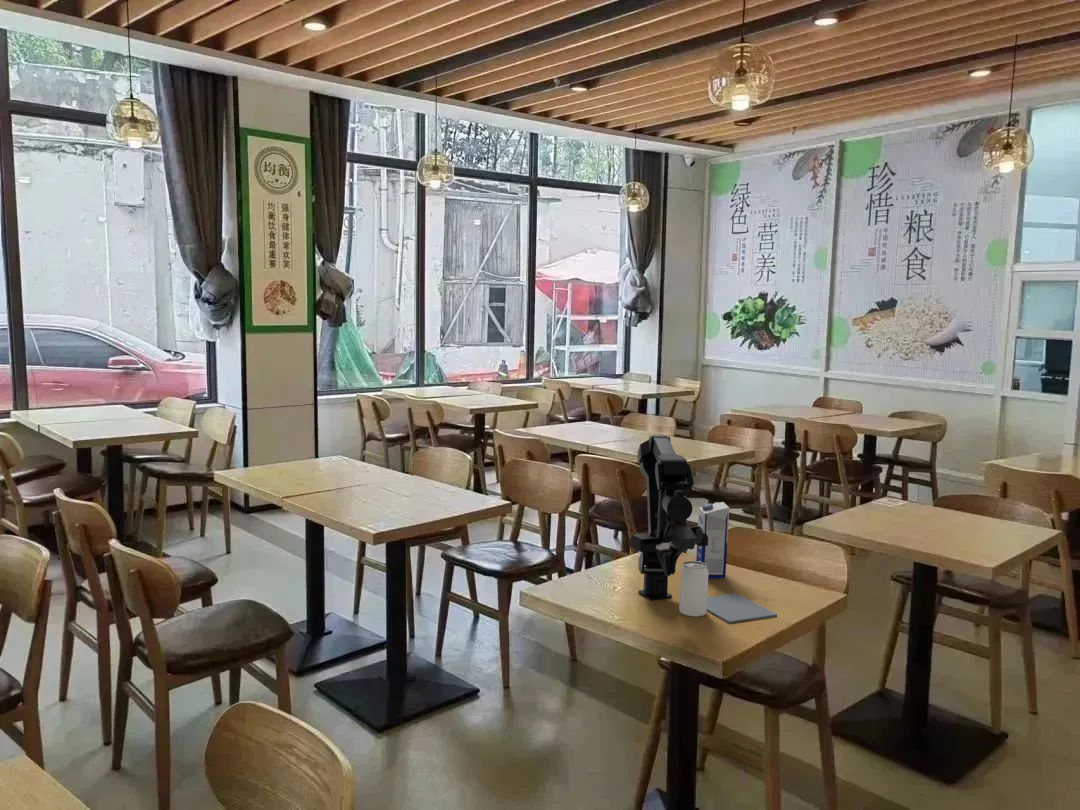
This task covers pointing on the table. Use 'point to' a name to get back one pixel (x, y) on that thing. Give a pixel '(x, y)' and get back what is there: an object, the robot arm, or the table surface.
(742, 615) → the mat
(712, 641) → the table surface
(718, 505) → the milk carton
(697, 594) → the can
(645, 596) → the robot arm
